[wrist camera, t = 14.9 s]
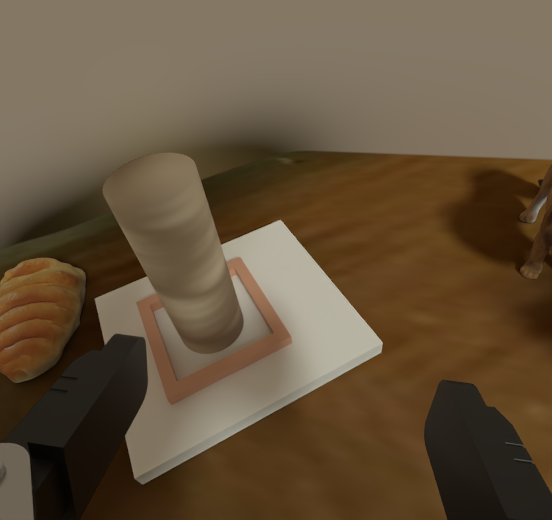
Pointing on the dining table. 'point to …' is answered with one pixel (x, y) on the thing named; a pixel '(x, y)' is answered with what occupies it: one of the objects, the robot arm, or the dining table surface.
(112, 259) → the dining table surface
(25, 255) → the dining table surface
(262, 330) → the board
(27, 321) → the pastry
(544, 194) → the lion figurine
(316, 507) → the dining table surface
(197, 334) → the maple pin
